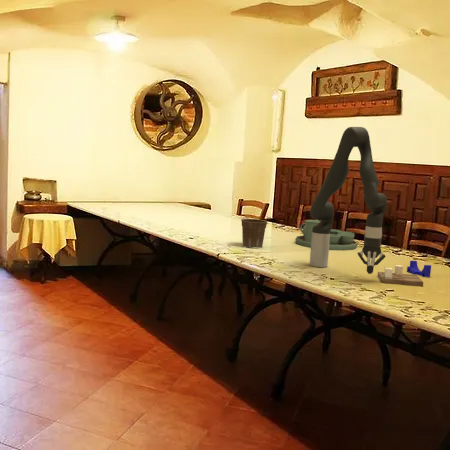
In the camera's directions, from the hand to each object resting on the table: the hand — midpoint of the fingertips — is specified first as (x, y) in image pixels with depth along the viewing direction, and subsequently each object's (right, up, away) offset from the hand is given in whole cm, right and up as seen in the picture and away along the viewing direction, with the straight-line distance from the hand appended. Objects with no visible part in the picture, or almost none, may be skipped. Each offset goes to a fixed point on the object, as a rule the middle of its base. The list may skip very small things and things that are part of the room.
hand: (369, 273), depth 237 cm
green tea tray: (-1, +9, +100) cm, 100 cm away
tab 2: (+15, -1, +7) cm, 17 cm away
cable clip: (+30, -3, +20) cm, 36 cm away
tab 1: (+8, -2, -1) cm, 8 cm away
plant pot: (-50, +9, +76) cm, 92 cm away
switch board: (+15, -4, +3) cm, 15 cm away
